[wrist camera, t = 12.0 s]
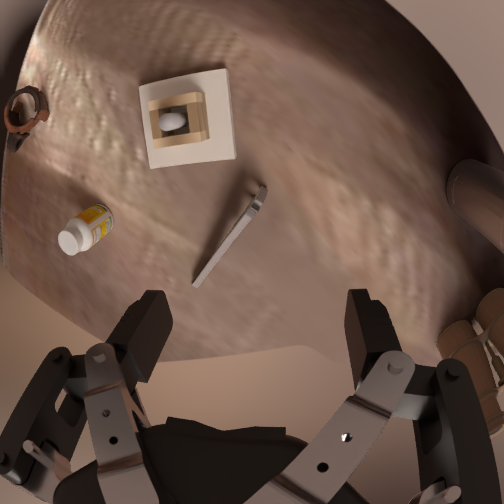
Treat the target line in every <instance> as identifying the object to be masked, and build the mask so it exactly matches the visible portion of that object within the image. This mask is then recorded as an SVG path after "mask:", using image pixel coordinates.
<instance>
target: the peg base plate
mask: <svg viewBox="0 0 504 504" xmlns="http://www.w3.org/2000/svg"><path fill="white" fill-rule="evenodd" d="M192 92H199V93H205V98H206V108H207V117H208V126H209V134H210V139H207V140H205V141H202V142H197V143H189V144H182V145H176V146H169V147H163V148H157V149H154V143H153V137H152V130H151V122H150V115H149V106H148V102H149V101H153V100H158V99H162V98H167V97H171V96H176V95H181V94H187V93H192ZM139 93H140V102H141V110H142V118H143V125H144V132H145V139H146V146H147V152H148V158H149V164H150V169H153V168H160V167H167V166H174V165H182V164H190V163H198V162H207V161H217V160H228V159H235V158H236V157H237V153H236V143H235V133H234V123H233V114H232V104H231V94H230V84H229V74H228V70H227V69H226V68H225V69H218V70H211V71H205V72H199V73H194V74H189V75H184V76H179V77H174V78H170V79H166V80H161V81H157V82H153V83H149V84H146V85H142V86H139ZM158 124H159V127H160V128H161V129H162V130H164V131H169V130H173V132H174V134H180V133H186V132H190V128H189V120H188V112H187V106H181V107H176V108H171V113H166V114H163V115H162V116H161V117H160V118H159V121H158Z"/></svg>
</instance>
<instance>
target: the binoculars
mask: <svg viewBox="0 0 504 504" xmlns="http://www.w3.org/2000/svg"><path fill="white" fill-rule="evenodd" d="M475 317H476V320H477V322H478V323H479V324H480V326H481V327H482V329H483V331H484V332H483V333H482V334H480V335H477V334H476V332H475V330H474V329H473V327H472V324H471V323H470V322H469V321H467V320H461V321H457V322H455V323H453V324H451V325H450V326H448V327H447V328H446V329H445V330H444V331H443V332H442V333H441V334H440V336H439V338H438V340H437V348H438V351H439V352H440V354H441V356H442V359H443V360H444V359H447V358H454V359H457V360H459V361H461V362H462V363H464V364H465V365H466V367H467V368H468V371H469V373H470V376H471V378H472V381H473V384H474V387H475V390H476V392H477V395H478V398H479V401H480V404H481V408H482V411H483V414H484V417H485V421H486V424H487V428H488V432H489V435H490V438H492V437H494V436H496V435H497V434H499V433H500V432H501V431H503V430H504V412H503V411H502V412H501V409H500V407H499V404H498V402H497V399H496V398H497V397H498V395H499V394H501V393H502V391H504V364H503V362H502V360H501V359H500V357H499V356H496V355H495V354H494V352H493V350H492V349H491V347H492V346H493V345H494V346H495V348H496V349H497V350H498V351H499V353H500V354H501V355H502V356H503V358H504V289H503V288H496V289H494V290H492V291H491V292H489V293H488V294H487V295H486V296H485V297H484V298H483V299H482V301H481V302H480V304H479V305H478V307H477V310H476V315H475ZM487 349H488V351H489V353H490V355H491V357H492V365H493V367H494V369H495V371H496V372H497V374H498V376H499V378H500V381H499V382H498V385H499V387H496V384H495V380H494V377H493V374H492V370H491V368H490V364H489V361H488V358H487V355H486V352H485V351H486V350H487Z"/></svg>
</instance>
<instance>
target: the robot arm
mask: <svg viewBox="0 0 504 504" xmlns="http://www.w3.org/2000/svg"><path fill="white" fill-rule="evenodd" d="M446 193H447V199H448V202H449V205H450V206H451V208H452V209H453V210H454V211H455V212H456V213H457V214H458V215H459V216H461V217H462V218H463V219H464V220H466V221H467V222H468V223H469V224H470V225H472V226H473V227H474V228H475V229H476V230H478V231H479V232H480V233H481V234H482V235H483V236H485V237H486V238H487V239H488V240H489V241H490V242H491V243H492V244H494V245H495V246H496V247H497V248H498V249H499V250H500V251H501V252H502V253H503V254H504V172H502V171H499V170H497V169H495V168H493V167H491V166H488V165H486V164H484V163H481V162H479V161H477V160H474V159H465V160H462V161H460V162H459V163H458V164H456V166H455V167H454V168H453V169H452V171H451V173H450V175H449V178H448V181H447V187H446ZM172 326H173V318H172V314H171V311H170V308H169V305H168V302H167V298H166V295H165V293H164V291H162V290H146V291H145V293H144V294H143V296H142V297H141V299H140V300H137V301H136V302H134V303H133V304H132V305H130V306H129V307H128V309H127V310H126V312H125V313H124V316H122V318H121V319H120V322H118V324H117V325H116V327H115V328H114V330H113V331H112V333H111V334H110V336H109V337H108V339H107V341H106V342H105V343H98V344H96V345H94V346H92V347H91V348H90V349H89V350H88V351H87V352H86V354H85V355H74V356H72V354H71V353H70V351H69V350H68V348H66V347H57V348H55V349H53V350H52V351H50V352H49V353H48V355H47V356H46V358H45V359H44V361H43V362H42V364H41V365H40V367H39V368H38V370H37V372H36V373H35V375H34V377H33V378H32V380H31V381H30V383H29V384H28V387H27V388H26V390H25V391H24V393H23V395H22V396H21V398H20V400H19V402H18V403H17V405H16V407H15V409H14V411H13V412H12V414H11V416H10V418H9V420H8V422H7V424H6V426H5V428H4V430H3V432H2V434H1V436H0V475H1V476H3V477H4V478H6V479H7V480H9V481H10V482H11V483H12V484H13V485H15V486H17V487H19V488H20V489H22V490H23V491H25V492H27V493H28V494H30V495H33V496H35V497H37V498H39V499H41V500H42V501H45V502H48V503H50V504H370V503H369V502H368V501H366V500H365V499H364V498H363V497H362V496H361V495H360V494H359V493H358V492H357V491H356V490H355V489H354V488H353V487H352V486H351V485H350V484H349V483H348V482H347V480H348V479H349V478H350V476H351V475H352V473H353V472H354V471H355V470H356V468H357V467H358V466H359V464H360V463H361V461H362V460H363V459H364V457H365V456H366V454H367V453H368V451H369V450H370V449H371V447H372V446H373V444H374V443H375V441H376V440H377V438H378V436H379V435H380V433H381V432H382V430H383V429H384V427H385V425H386V423H387V422H388V420H389V419H390V417H391V416H392V417H398V418H406V419H412V421H413V427H414V433H415V441H416V448H417V456H418V465H419V476H420V489H421V492H420V493H419V494H417V495H416V496H414V497H413V498H412V499H411V501H410V502H409V504H502V500H501V492H500V484H499V478H498V472H497V467H496V462H495V457H494V452H493V448H492V444H491V439H490V435H489V432H488V428H487V424H486V421H485V417H484V414H483V411H482V408H481V404H480V401H479V398H478V395H477V392H476V390H475V387H474V384H473V381H472V378H471V376H470V373H469V371H468V368H467V367H466V365H465V364H464V363H462V362H461V361H459V360H457V359H454V358H447V359H444V360H442V361H441V362H439V364H438V365H437V367H429V366H422V365H418V364H415V363H414V361H413V359H412V358H411V357H410V356H409V355H407V354H406V353H404V352H402V349H401V346H400V343H399V340H398V338H397V335H396V332H395V329H394V327H393V325H392V321H391V319H390V318H389V314H388V311H387V309H386V307H385V306H384V305H383V304H382V303H381V302H380V301H379V300H371V299H370V296H369V294H368V291H367V289H349V291H348V296H347V304H346V312H345V320H344V327H345V335H346V340H347V345H348V351H349V357H350V362H351V368H352V375H353V381H354V387H355V394H354V395H353V396H349V397H348V398H347V399H346V400H345V401H344V403H343V404H342V405H341V407H340V408H339V409H338V410H337V411H336V413H335V414H334V415H333V417H332V418H331V419H330V420H329V421H328V423H327V424H326V425H325V426H324V427H323V428H322V430H321V431H320V432H319V433H318V434H317V435H316V437H315V438H314V439H313V440H312V441H311V442H310V443H309V444H308V443H307V442H305V441H303V440H301V439H299V438H296V437H293V436H289V435H286V428H285V427H256V426H255V427H249V428H241V429H235V430H226V431H222V430H218V429H216V428H213V427H210V426H207V425H204V424H202V423H199V422H196V421H193V420H186V419H180V418H173V417H168V418H167V421H166V424H161V425H155V426H151V424H150V422H149V420H148V417H147V415H146V412H145V409H144V407H143V404H142V401H141V398H140V396H139V393H138V390H137V388H136V384H137V382H138V381H139V382H144V383H147V382H148V380H149V378H150V376H151V374H152V371H153V369H154V367H155V365H156V363H157V360H158V358H159V356H160V354H161V351H162V349H163V347H164V345H165V343H166V341H167V338H168V336H169V334H170V332H171V330H172ZM62 388H63V389H64V390H65V392H66V393H67V394H66V396H65V398H64V400H63V402H62V404H61V406H60V408H59V410H58V412H56V410H55V402H56V400H57V397H58V396H59V394H60V392H61V390H62ZM87 419H88V424H89V429H90V434H91V438H92V443H93V447H94V451H95V455H96V460H94V461H93V462H91V463H89V464H88V465H86V466H84V467H83V468H81V469H79V470H78V471H76V472H74V473H72V471H71V465H70V461H71V458H72V455H73V452H74V450H75V448H76V445H77V442H78V440H79V438H80V435H81V433H82V431H83V428H84V426H85V423H86V421H87Z"/></svg>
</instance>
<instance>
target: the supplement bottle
mask: <svg viewBox="0 0 504 504" xmlns="http://www.w3.org/2000/svg"><path fill="white" fill-rule="evenodd" d="M112 227H113V216H112V214H111V212H110V210H109V209H108V208H107V207H105V206H103V205H101V204H95V205H93V206H91V207H89V208H88V209H86V210H85V211H83V212H82V213H80V214H78V215H77V216H75V217H74V218H72V219H71V220H70V221H69V222H68V223H67V225H66V228H65V229H64V230H62V231H61V232H60V234H59V237H58V241H59V245H60V247H61V248H62V250H63V251H64V252H65V253H66V254H68V255H75V254H76V253H78V252H79V251H86V250H88V249H89V248H90V247H91V246H93V245H94V244H95V243H96V242H97V241H99V240H100V239H101V238H102V237H103V236H105V235H106V234H107V233H108V232H109V231H110V230H111V229H112Z"/></svg>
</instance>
